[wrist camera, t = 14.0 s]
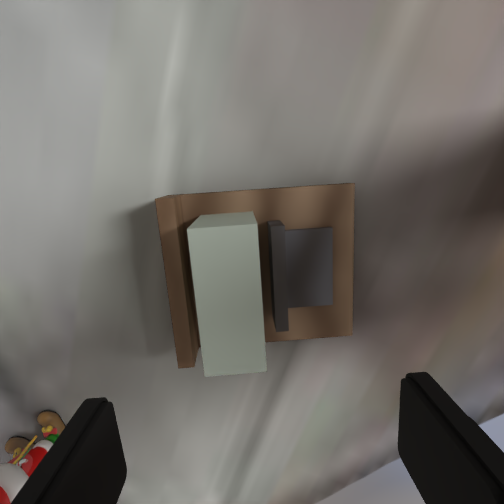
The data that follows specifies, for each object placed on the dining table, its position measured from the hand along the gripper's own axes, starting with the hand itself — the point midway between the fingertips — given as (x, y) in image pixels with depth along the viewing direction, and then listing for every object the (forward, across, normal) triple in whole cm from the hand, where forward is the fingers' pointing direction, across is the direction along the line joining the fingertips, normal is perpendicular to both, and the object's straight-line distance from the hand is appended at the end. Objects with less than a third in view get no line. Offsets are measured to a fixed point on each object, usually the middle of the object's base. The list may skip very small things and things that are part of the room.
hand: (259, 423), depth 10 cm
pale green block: (+22, +2, +2) cm, 22 cm away
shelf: (+23, -1, +2) cm, 23 cm away
